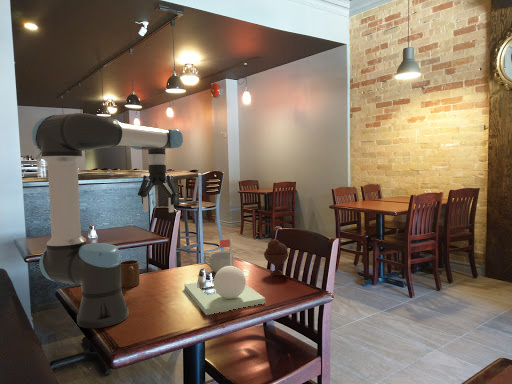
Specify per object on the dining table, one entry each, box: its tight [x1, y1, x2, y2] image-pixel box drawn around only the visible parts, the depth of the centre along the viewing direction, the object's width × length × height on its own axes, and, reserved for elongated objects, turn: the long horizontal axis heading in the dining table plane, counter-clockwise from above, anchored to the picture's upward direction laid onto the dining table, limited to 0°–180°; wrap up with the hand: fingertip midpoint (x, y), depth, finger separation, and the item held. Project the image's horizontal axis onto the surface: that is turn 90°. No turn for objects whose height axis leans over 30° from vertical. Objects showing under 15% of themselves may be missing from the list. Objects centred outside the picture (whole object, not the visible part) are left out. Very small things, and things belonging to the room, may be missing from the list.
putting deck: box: [183, 238, 266, 316], centre depth 135 cm, size 28×21×18 cm
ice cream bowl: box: [263, 238, 290, 276], centre depth 162 cm, size 11×11×15 cm
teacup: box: [202, 251, 234, 274], centre depth 168 cm, size 14×11×8 cm
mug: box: [121, 259, 140, 289], centre depth 149 cm, size 12×8×9 cm, turn 26°
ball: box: [213, 265, 247, 299], centre depth 128 cm, size 11×11×11 cm
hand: (158, 212), depth 166 cm, fingers open, 13 cm apart
